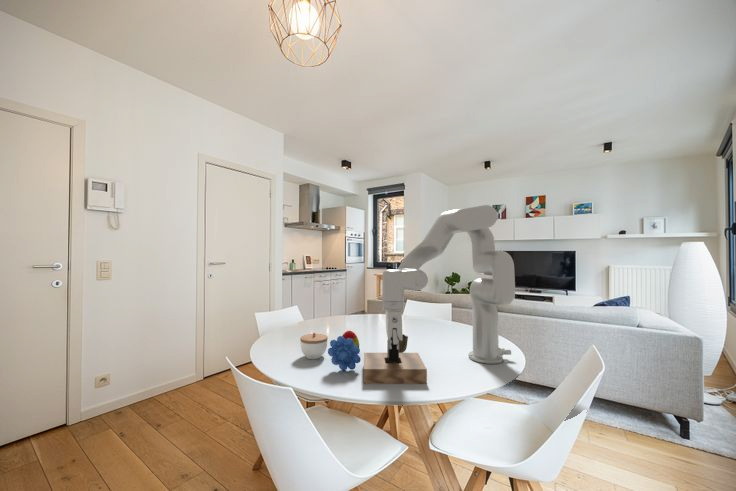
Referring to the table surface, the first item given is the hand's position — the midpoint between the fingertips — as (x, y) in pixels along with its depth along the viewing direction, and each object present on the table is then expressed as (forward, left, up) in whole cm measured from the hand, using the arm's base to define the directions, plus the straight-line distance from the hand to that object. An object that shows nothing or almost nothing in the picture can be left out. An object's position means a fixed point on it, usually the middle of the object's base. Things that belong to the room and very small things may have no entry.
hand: (393, 358), depth 103 cm
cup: (-4, -18, -5) cm, 19 cm away
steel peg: (0, 0, -2) cm, 2 cm away
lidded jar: (+30, -17, -5) cm, 35 cm away
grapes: (+17, -2, -5) cm, 18 cm away
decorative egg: (+16, -18, -5) cm, 25 cm away
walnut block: (0, 0, -5) cm, 5 cm away
